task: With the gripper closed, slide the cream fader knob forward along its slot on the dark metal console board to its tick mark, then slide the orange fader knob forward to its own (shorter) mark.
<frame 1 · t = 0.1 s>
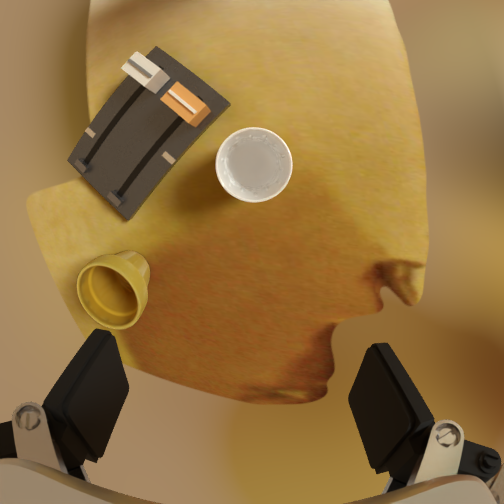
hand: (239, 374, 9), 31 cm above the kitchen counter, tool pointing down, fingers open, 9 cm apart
white cup: (252, 163, 36), on the kitchen counter
fader b: (186, 104, 30), point 4 cm above the kitchen counter, slide at 0.0 cm
console board: (141, 130, 34), on the kitchen counter
fader a: (145, 72, 28), point 4 cm above the kitchen counter, slide at 0.0 cm
plant pot: (132, 269, 41), on the kitchen counter
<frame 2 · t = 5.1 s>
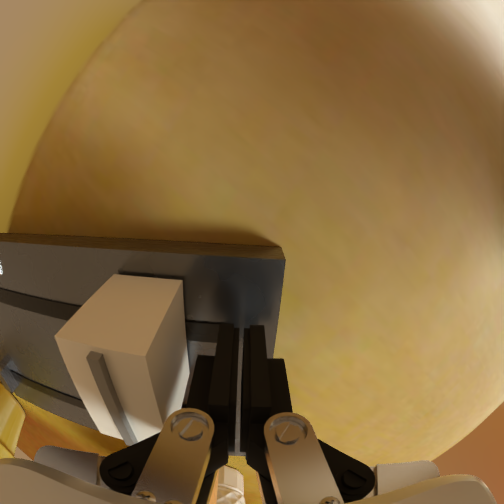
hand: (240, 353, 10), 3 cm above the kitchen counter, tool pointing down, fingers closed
white cup: (208, 472, 19), on the kitchen counter
fader b: (190, 462, 11), point 4 cm above the kitchen counter, slide at 0.0 cm
console board: (87, 352, 14), on the kitchen counter
fader a: (135, 364, 9), point 4 cm above the kitchen counter, slide at 1.4 cm, touching gripper
plant pot: (6, 395, 18), on the kitchen counter
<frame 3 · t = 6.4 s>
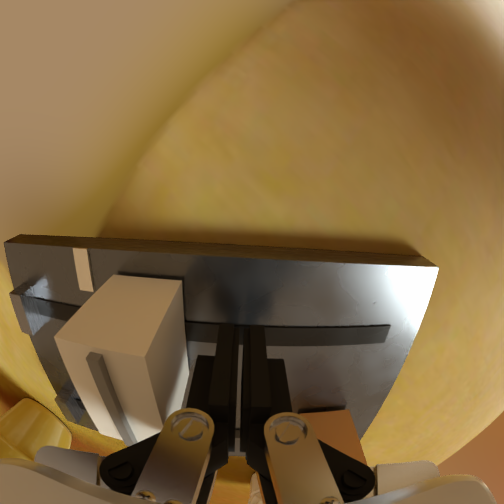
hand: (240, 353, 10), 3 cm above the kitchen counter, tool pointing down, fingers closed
white cup: (285, 474, 20), on the kitchen counter
fader b: (321, 463, 12), point 4 cm above the kitchen counter, slide at 0.0 cm
console board: (202, 372, 14), on the kitchen counter
fader a: (134, 365, 9), point 4 cm above the kitchen counter, slide at 8.8 cm, touching gripper
plant pot: (46, 417, 18), on the kitchen counter
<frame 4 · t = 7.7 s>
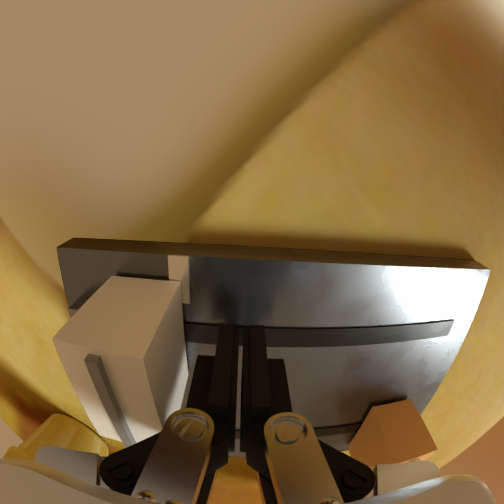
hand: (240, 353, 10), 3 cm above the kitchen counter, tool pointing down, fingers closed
fader b: (388, 451, 12), point 4 cm above the kitchen counter, slide at 0.0 cm
console board: (283, 376, 14), on the kitchen counter
fader a: (133, 366, 9), point 4 cm above the kitchen counter, slide at 13.4 cm, touching gripper
plant pot: (79, 432, 18), on the kitchen counter
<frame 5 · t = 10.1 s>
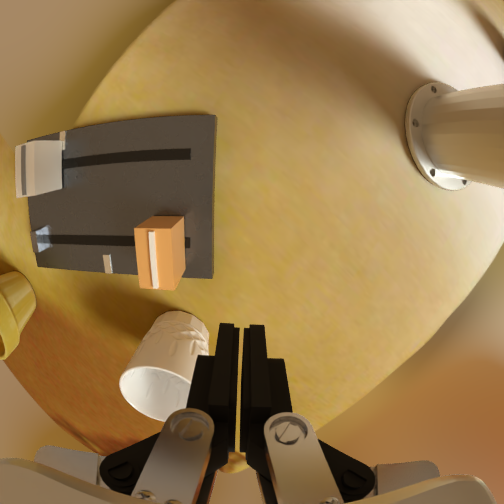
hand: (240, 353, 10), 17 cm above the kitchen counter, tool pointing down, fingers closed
white cup: (181, 333, 30), on the kitchen counter
fader b: (161, 251, 22), point 4 cm above the kitchen counter, slide at 0.0 cm
console board: (108, 198, 24), on the kitchen counter
fader a: (37, 167, 19), point 4 cm above the kitchen counter, slide at 13.5 cm
plant pot: (22, 291, 28), on the kitchen counter
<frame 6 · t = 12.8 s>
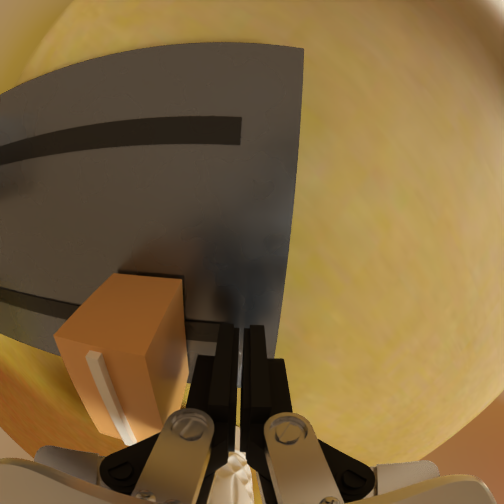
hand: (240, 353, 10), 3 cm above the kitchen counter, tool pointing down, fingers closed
white cup: (202, 434, 17), on the kitchen counter
fader b: (134, 363, 9), point 4 cm above the kitchen counter, slide at 1.4 cm, touching gripper
console board: (60, 224, 11), on the kitchen counter
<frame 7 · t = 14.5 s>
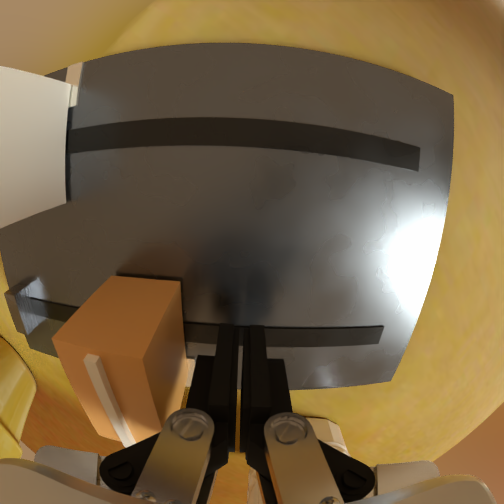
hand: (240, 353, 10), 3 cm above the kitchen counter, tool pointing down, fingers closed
white cup: (296, 438, 17), on the kitchen counter
fader b: (133, 366, 9), point 4 cm above the kitchen counter, slide at 8.5 cm, touching gripper
console board: (187, 231, 11), on the kitchen counter
fader a: (3, 149, 6), point 4 cm above the kitchen counter, slide at 13.5 cm
plant pot: (11, 362, 15), on the kitchen counter
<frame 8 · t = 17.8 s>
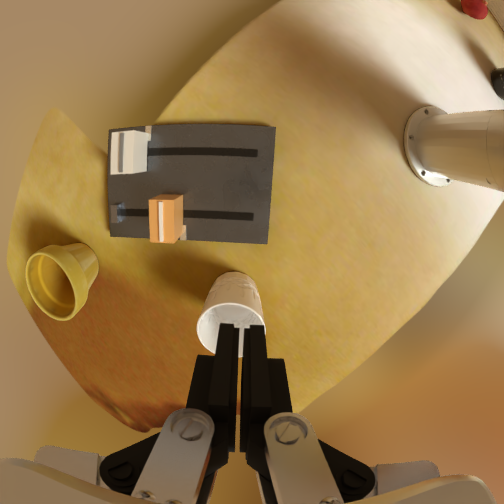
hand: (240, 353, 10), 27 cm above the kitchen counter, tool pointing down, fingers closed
white cup: (234, 291, 40), on the kitchen counter
fader b: (166, 217, 32), point 4 cm above the kitchen counter, slide at 8.5 cm
console board: (186, 181, 34), on the kitchen counter
fader a: (129, 152, 29), point 4 cm above the kitchen counter, slide at 13.5 cm
supplement bottle: (498, 85, 27), on the kitchen counter
onion: (463, 11, 22), on the kitchen counter
plant pot: (83, 261, 38), on the kitchen counter
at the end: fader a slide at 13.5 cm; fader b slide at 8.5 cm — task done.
